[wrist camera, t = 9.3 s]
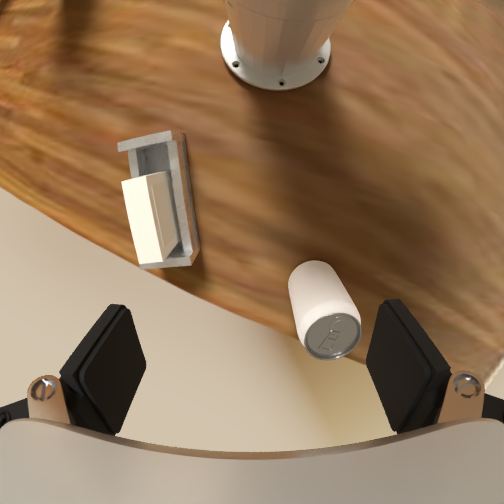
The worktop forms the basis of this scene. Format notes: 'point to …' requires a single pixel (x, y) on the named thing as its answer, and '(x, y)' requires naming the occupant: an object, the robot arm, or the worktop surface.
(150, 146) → the track
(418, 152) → the worktop surface
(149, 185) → the plain white block
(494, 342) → the worktop surface
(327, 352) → the can
